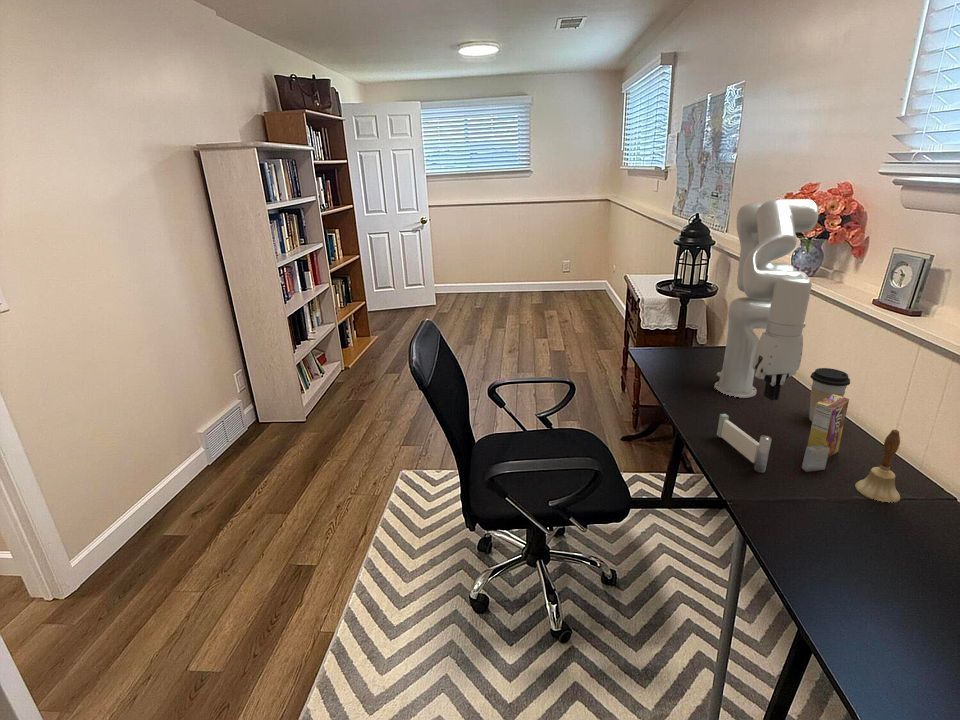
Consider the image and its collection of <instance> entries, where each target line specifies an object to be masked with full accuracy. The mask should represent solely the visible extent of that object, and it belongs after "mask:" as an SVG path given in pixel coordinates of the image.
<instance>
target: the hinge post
mask: <svg viewBox="0 0 960 720" xmlns="http://www.w3.org/2000/svg"><path fill="white" fill-rule="evenodd" d="M772 440H773V439H772V437H770V436H769V435H760V438H759V442H758V443H759V447H758V452H757V457H756V462H755V463H754V466H753V467H754V468H753V469H754V471H756V472H757V473H761V474H762V473H765V472H766V469H767V464H768V459H769V453H770V450H771V444H772Z"/></svg>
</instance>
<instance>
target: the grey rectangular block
mask: <svg viewBox="0 0 960 720" xmlns="http://www.w3.org/2000/svg"><path fill="white" fill-rule="evenodd" d="M829 450H830V448H829V447H827V446H826V445H820V446H811V447H807V446H806V447H805V451H804V452H805V453H804V455H803V456H804V457H803V460H802V464H801V469H802V470H803V471H804V472H816V471H823V470H824V471H825V469H826V466H827V462H828V459H829V458H828V454H829Z"/></svg>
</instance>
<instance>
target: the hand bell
mask: <svg viewBox="0 0 960 720" xmlns="http://www.w3.org/2000/svg"><path fill="white" fill-rule="evenodd" d="M900 444H901V437H900V431H899V430H897V429H891V431H890V432H889V433H888V435H887V436H886V438H885V439H884V442H883V457H882V460H881V462H880V466H875V467H872V468H871V469H870V471H869V473H868V474H867V476H866V477H865V478H864V479H860V480H858V481H857V482H856V483H855V485H854V488H855V489H856V491H858V493H860V494H861V495H862V496H864V497H866V498H868V499H870V500H873V499H874V500H873V501H876V500H877V501H876V502H879V501H881V502H880V503H884V502H888V503H889V504H895V503H898V502H899V501H900V500H901V496H900V492H898V490H897V489H896V474H895V473H894V472H893V471H892V470H890V469H891V466H892V465H891V464H892V460H893V457H894V456H895V455H896V453H897V452H898V450H899V448H900ZM890 502H891V503H890ZM893 502H894V503H893ZM888 503H887V504H888Z"/></svg>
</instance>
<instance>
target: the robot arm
mask: <svg viewBox="0 0 960 720" xmlns="http://www.w3.org/2000/svg"><path fill="white" fill-rule="evenodd" d="M818 220H819V207H818V205H817V204H816V202H815V201H814V200H812V199H807V198H789V199H788V198H786V199H785V198H784V199H783V198H779V199H771V200H767V201H764V202H763V201H762V202H760V201H759V202H751V203H746V204H744V205H742V206H741V207H740V208H739V209H738V211H737V216H736V231H737V236H738V239H739V244H740V245H739V246H740V251H739V259H738V268H737V269H738V270H737V277H736V285H737V289H738V290H739V291H740V292H744V294H745V296H746V297H737V298H736V299H732V301H731V302H730V303H729V306H728V313H727V315H728V318H727V319H728V329H727V336H726V337H727V338H726V344H725V350H724V357H723V363H722V368H721V369H722V370H720V371H718V372H717V373H716V376H717V377H719V380H718V381H716V382H715V383H714V389H715V388H716V389H717V390H718V391H720V392H721V393H723V394H722V395H724V394H726V395H725V396H727V395H729V396H728V397H731V396H734V397H733V398H736V397H739V398H738V399H747V398H748V399H749V398H753V397H755V396H756V394H757V391H758V390H757V388H756V387H755V386H753V384H754V383H753V382H754V377H755V378H757V379H760V380H763V382H764V383H765V385H764V391H763V397H764V398H767V399H768V400H769V401H778V400H779V397H780V394H781V393H780V392H781V387H782V386H783V385H784V384H785V381H786V380H787V379H788V378H790V377H793V376H795V375H796V374H797V372H798V371H799V369H800V366H801V362H802V358H803V351H804V350H803V349H804V348H803V347H804V336H803V335H804V334H803V330H804V328H805V327H806V323H805V321H806V320H805V319H806V315H807V311H808V306H809V302H810V296H811V292H812V288H813V287H812V286H813V285H812V281H811V278H809V276H808V274H806V273H805V272H804V271H801V270H796V268H795V267H794V266H793V265H792V264H791V263H787V262H773V261H774V260H778V259H780V258H783V257H785V256H787V255H789V254H790V253H792V252H793V250H795V248H796V246H797V243H798V241H797V234H796V233H807V232H811V230H813V229H814V228H815V227H816V226H817V224H818ZM754 329H757V330H758V329H760V330H761V329H764V330H765V331H763V332H762V333H761V335H760V338H759V336H758V335H757V334H756V333H755V331H754ZM716 389H715V390H716ZM718 391H717V392H718ZM721 393H720V394H721Z"/></svg>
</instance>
